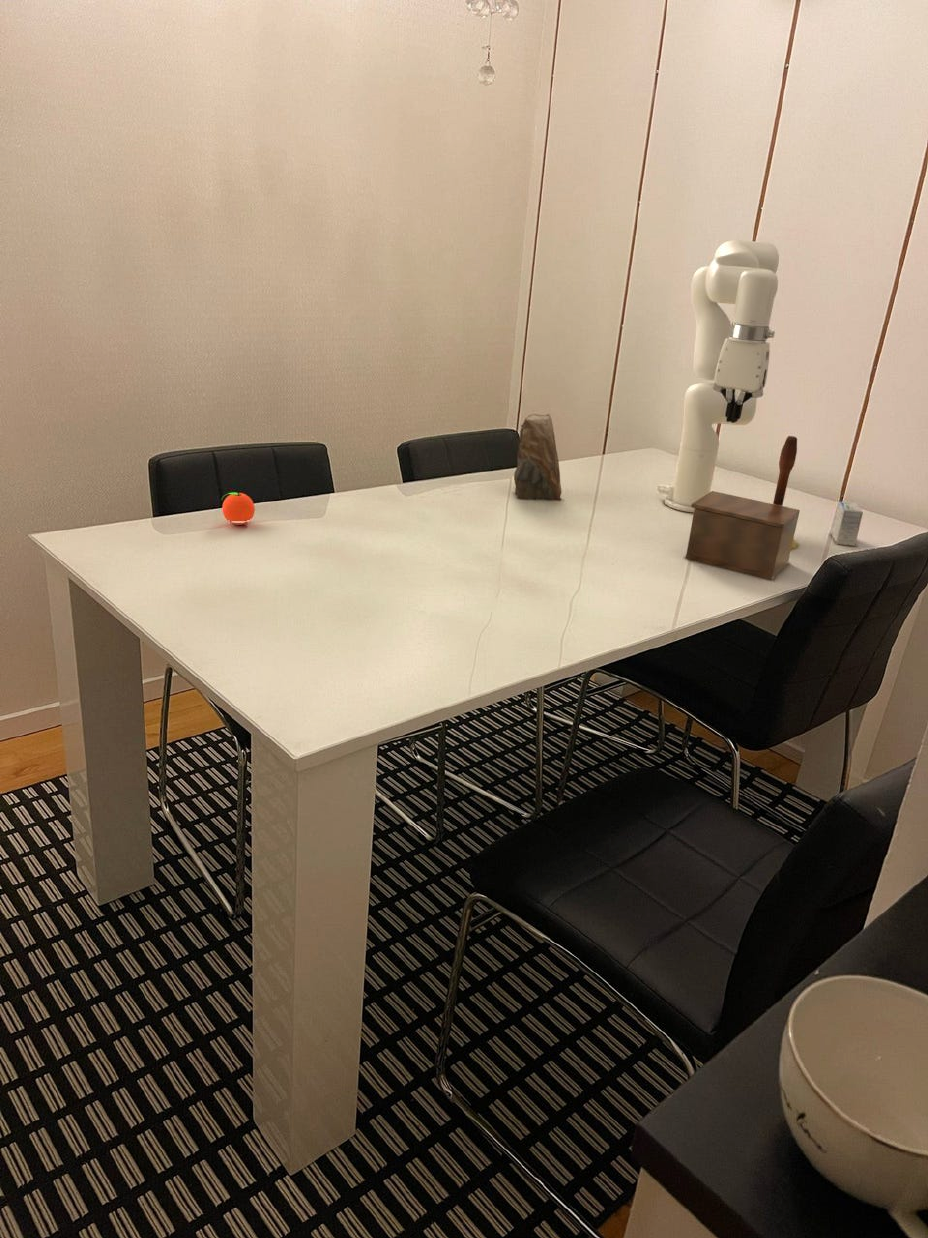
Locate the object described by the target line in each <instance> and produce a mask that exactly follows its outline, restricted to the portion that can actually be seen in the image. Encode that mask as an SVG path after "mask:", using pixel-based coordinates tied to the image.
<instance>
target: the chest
mask: <svg viewBox="0 0 928 1238" xmlns="http://www.w3.org/2000/svg"><path fill="white" fill-rule="evenodd" d="M799 516H800V513H799V514H798V515H797V516H796V517H795V518H793V519H792V520H791V521H790V522H789V523H788V524H787V525H786V526H785V527H784V528H780V527H776V526H772V525H767V524H763V523H758V522H754V521H750V520H745V519H741V518H736V517H732V516H728V515H723V514H719V513H714V512H710V511H706V510H701V509H697V508H695V509H694V512H693V515H692V521H691V527H690V533H689V537H688V543H687V549H686V555H685V559H686V560H688V561H689V560H690V561H694V562H697V563H701V564H706V565H709V566H713V567H718V568H721V569H725V570H730V571H733V572H737V573H741V574H745V575H750V576H754V577H757V578H762V579H766V580H770V581H772V580H773V579H774V578H775V577H776V576H777V575H779V573H780V572H781V571H782V570H783V569H784V568H785V567H786V566H787V565H788V563H789V561H790V556H791V552H792V549H791V547H792V543H793V539H794V538H795V533H796V530H797V526H798V525H797V524H798V520H799Z"/></svg>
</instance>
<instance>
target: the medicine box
mask: <svg viewBox="0 0 928 1238" xmlns="http://www.w3.org/2000/svg"><path fill="white" fill-rule="evenodd" d="M836 508H837V509H836V512H835V516H834V521H833V524H832V529H831V536H832V538H833V540H834V542H835V543H836V545H841V546H849V547H854V546H856V544H857V540H858V535H859V530H860V527H861V523H862V518H863V514H864V513H863V512H864V511H863V509H861V507H860V506H859V504H858V503H857V502H850V501H839V502H838V504H837V507H836Z"/></svg>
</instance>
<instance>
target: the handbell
mask: <svg viewBox="0 0 928 1238" xmlns="http://www.w3.org/2000/svg"><path fill="white" fill-rule="evenodd" d="M797 453H798V437H796V436H793V435H788V436H787V437H786V439H785V441H784V444H783V446H782V449H781V451H780V456H779V461H778V467H779V473H778V478H777V483H776V488H775V493H774V498H773V501H772V502H773V503H772V504H775V505H779V506H784V500H785V495H786V491H787V487H788V482H789V477H790V474H791V472H792V471H793V468H794V466H795V463H796V458H797ZM796 548H797V541H796V540H795V539H794V538H793V543H792V547H791V550H792V549H796Z"/></svg>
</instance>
